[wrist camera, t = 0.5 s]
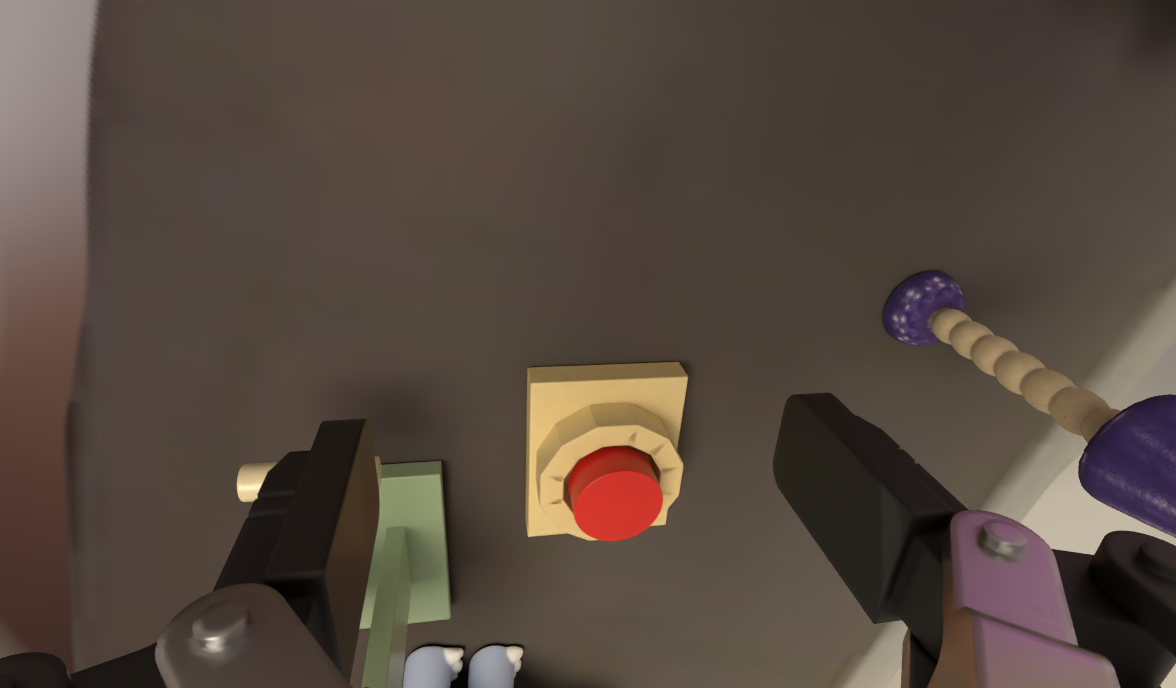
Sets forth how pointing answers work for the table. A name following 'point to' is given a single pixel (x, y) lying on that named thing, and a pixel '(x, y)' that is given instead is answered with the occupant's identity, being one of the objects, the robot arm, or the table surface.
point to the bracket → (405, 567)
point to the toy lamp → (1056, 402)
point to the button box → (598, 431)
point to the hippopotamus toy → (440, 666)
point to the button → (614, 493)
